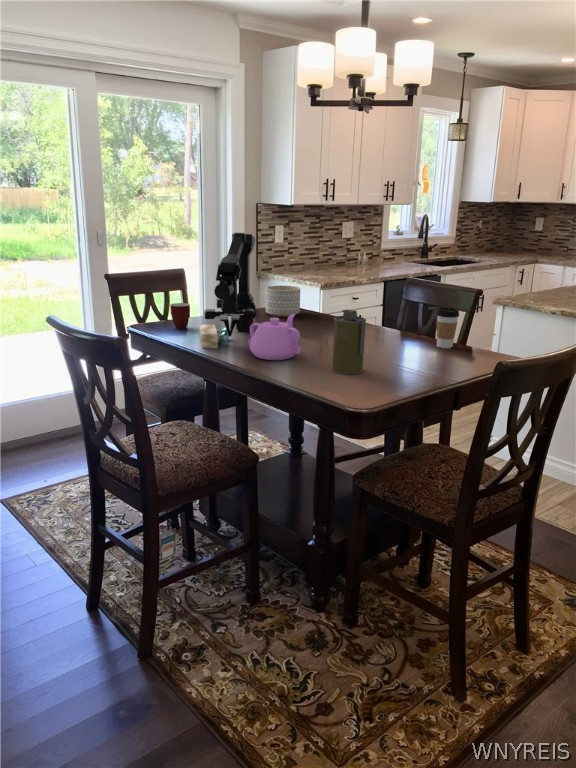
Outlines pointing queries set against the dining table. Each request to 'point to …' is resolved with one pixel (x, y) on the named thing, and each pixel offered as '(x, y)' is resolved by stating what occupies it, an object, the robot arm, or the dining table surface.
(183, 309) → the mug
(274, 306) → the planter
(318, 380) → the dining table surface
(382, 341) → the dining table surface
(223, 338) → the knob
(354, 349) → the canister
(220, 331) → the knob
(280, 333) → the teapot
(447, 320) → the coffee cup
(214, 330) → the mount
